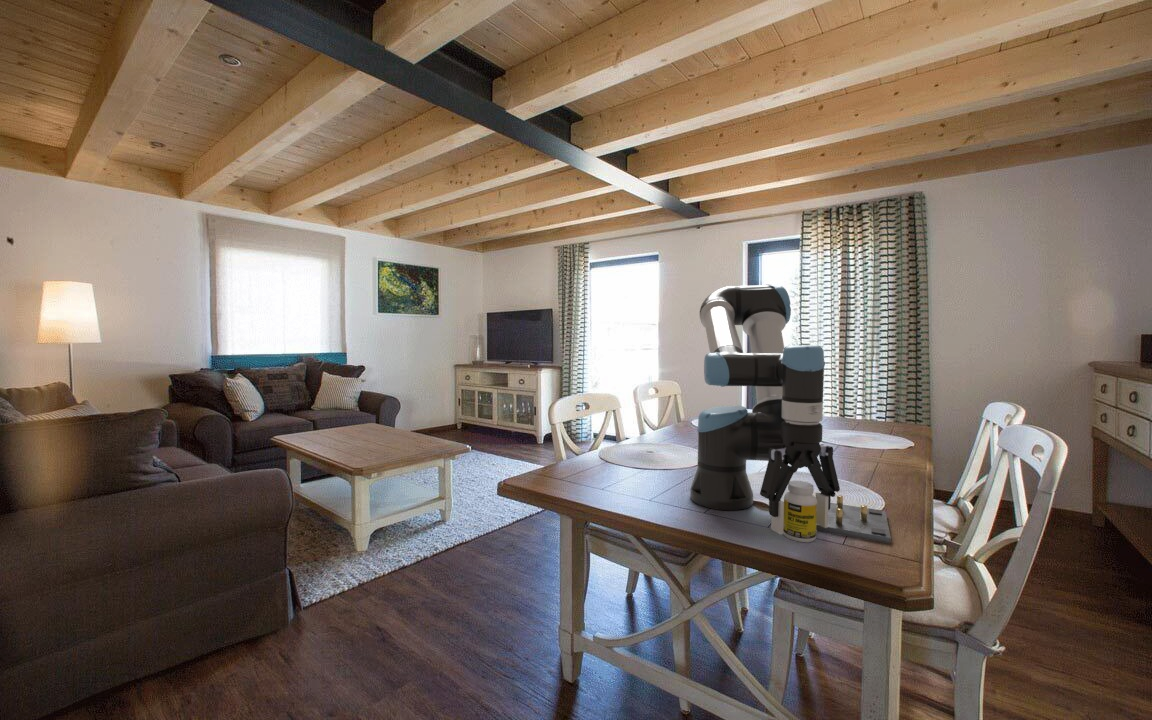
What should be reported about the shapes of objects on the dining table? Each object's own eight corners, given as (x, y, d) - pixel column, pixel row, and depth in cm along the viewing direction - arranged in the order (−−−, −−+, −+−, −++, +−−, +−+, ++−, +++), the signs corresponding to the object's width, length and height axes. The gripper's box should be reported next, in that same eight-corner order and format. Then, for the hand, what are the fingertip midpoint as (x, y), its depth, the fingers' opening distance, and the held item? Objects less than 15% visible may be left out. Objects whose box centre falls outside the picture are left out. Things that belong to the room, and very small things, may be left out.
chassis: (791, 525, 102) (791, 506, 102) (797, 502, 116) (798, 485, 116) (890, 543, 93) (891, 523, 93) (884, 516, 107) (885, 498, 107)
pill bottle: (783, 540, 95) (784, 487, 94) (782, 528, 101) (783, 478, 100) (818, 545, 93) (819, 490, 92) (814, 532, 99) (815, 481, 98)
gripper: (765, 428, 89) (763, 542, 90) (862, 421, 95) (859, 529, 96) (741, 421, 96) (740, 527, 97) (833, 415, 102) (830, 515, 103)
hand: (799, 528), depth 97 cm, fingers open, 10 cm apart
